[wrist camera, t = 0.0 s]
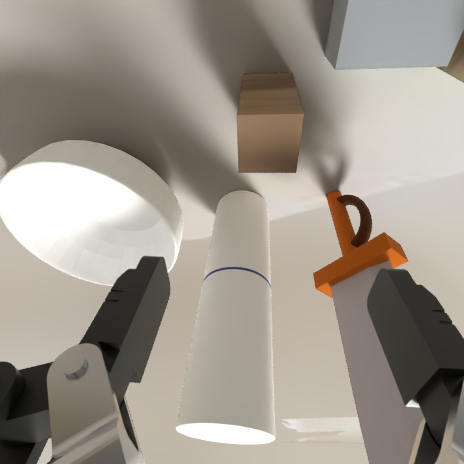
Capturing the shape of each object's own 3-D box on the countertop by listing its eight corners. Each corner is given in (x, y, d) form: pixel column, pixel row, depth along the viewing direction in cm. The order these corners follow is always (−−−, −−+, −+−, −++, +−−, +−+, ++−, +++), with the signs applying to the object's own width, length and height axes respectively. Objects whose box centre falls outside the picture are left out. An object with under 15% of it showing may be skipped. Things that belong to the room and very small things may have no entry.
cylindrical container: (263, 185, 34) (265, 425, 16) (272, 226, 39) (281, 446, 21) (210, 195, 36) (158, 421, 18) (224, 233, 40) (196, 441, 23)
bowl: (91, 82, 27) (43, 115, 21) (220, 205, 37) (212, 252, 31) (18, 181, 37) (-30, 223, 31) (136, 258, 47) (117, 301, 41)
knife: (315, 219, 37) (388, 558, 16) (302, 210, 36) (361, 558, 15) (368, 180, 32) (576, 595, 11) (354, 169, 31) (553, 597, 10)
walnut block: (243, 74, 25) (236, 114, 18) (291, 72, 25) (304, 113, 18) (244, 121, 29) (238, 172, 21) (287, 121, 28) (296, 172, 21)
